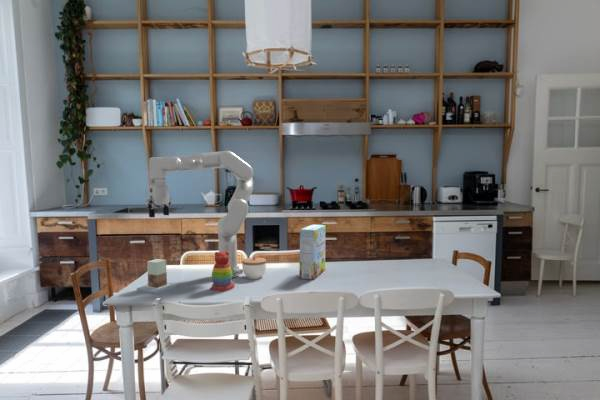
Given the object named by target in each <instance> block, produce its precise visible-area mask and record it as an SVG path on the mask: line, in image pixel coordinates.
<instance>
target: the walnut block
mask: <svg viewBox="0 0 600 400" xmlns="http://www.w3.org/2000/svg"><path fill="white" fill-rule="evenodd" d="M167 274H168V273H167V271H166V273H163V274H160V275H151V274H148V273H147V285H148V287H155V288H159V287H162V286H165V285H167V282H168V279H167V277H168V276H167Z"/></svg>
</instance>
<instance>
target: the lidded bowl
mask: <svg viewBox="0 0 600 400" xmlns="http://www.w3.org/2000/svg"><path fill="white" fill-rule="evenodd" d="M241 264H242V270H243V274H244V275H245V276H246V277H247V279H250V280H258V279H261V278H262V276H264V274H265V273H266V270H267V259H266V258H264V257H256V255H253V256H252V257H248V258H244V259H242V261H241Z"/></svg>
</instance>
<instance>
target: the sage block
mask: <svg viewBox="0 0 600 400" xmlns="http://www.w3.org/2000/svg"><path fill="white" fill-rule="evenodd" d="M146 264H147V267H146V268H147V275H148V274H151V275H160V274H163V273H166V272H167V260H166V259H160V258H155V259H152V260H148V261H147V263H146Z"/></svg>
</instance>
